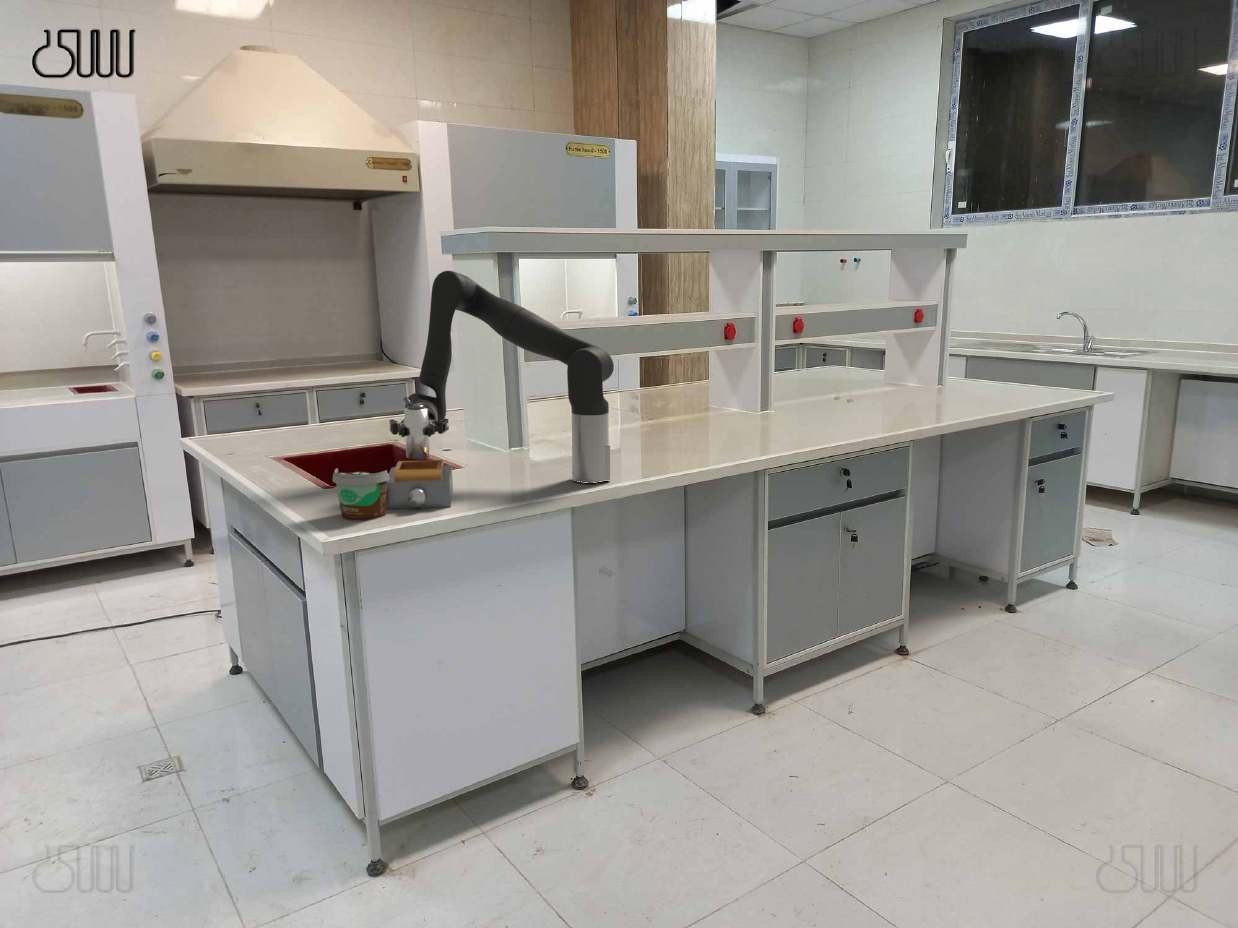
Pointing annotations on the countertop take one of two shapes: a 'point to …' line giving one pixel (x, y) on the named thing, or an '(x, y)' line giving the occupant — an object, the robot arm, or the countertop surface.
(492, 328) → the robot arm
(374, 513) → the food container
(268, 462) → the countertop surface
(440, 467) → the box
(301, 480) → the countertop surface
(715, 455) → the countertop surface
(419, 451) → the spout can
